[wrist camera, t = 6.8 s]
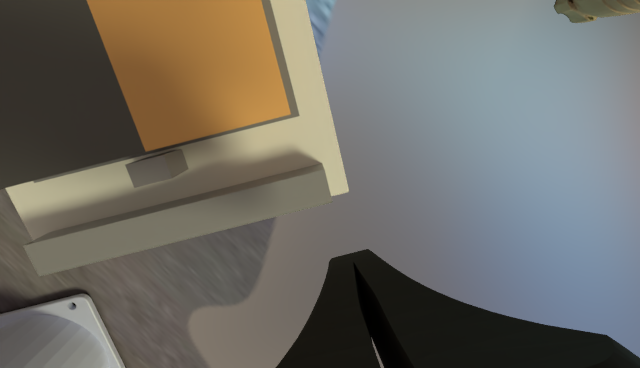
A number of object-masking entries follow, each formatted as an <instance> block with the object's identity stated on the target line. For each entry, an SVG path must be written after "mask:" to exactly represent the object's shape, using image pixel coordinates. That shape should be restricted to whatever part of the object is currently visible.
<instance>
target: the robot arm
mask: <svg viewBox="0 0 640 368" xmlns="http://www.w3.org/2000/svg"><path fill="white" fill-rule="evenodd" d="M72 302H73V303H75V304H76V306H75V305H73V304H72ZM371 337H372V339H373V342H374V344H375V346H376V349H377V351H378V354H379V356H380V358H381V361H382V363H383V366H384V368H640V358H639V357H638V356H636V355H635V354H633V353H632V352H630V351H629V350H628V349H626V348H625V347H623V346H622V345H620V344H619V343H618V342H616V341H615V340H613V339H612V338H610V337H609V336H607V335H603V334H596V333H590V332H585V331H579V330H573V329H567V328H560V327H555V326H548V325H544V324H539V323H534V322H530V321H526V320H522V319H517V318H513V317H509V316H505V315H502V314H498V313H494V312H490V311H488V310H484V309H481V308H478V307H475V306H472V305H469V304H466V303H463V302H460V301H458V300H455V299H453V298H450V297H448V296H445V295H443V294H441V293H438V292H436V291H434V290H432V289H430V288H428V287H426V286H424V285H422V284H420V283H418V282H416V281H414V280H413V279H411V278H409V277H407V276H406V275H404V274H403V273H401V272H400V271H398V270H397V269H395V268H393V267H392V266H391V265H389V264H388V263H386V262H385V261H384V260H382V259H381V258H380V257H378V256H377V255H376V254H374V253H373V252H372V251H370V250H369V249H366V250H362V251H358V252H354V253H350V254H347V255H343V256H338V257H335V258H332V259H331V260H330V262H329V267H328V272H327V275H326V279H325V282H324V284H323V287H322V290H321V293H320V295H319V298H318V300H317V302H316V304H315V306H314V309H313V311H312V313H311V315H310V317H309V319H308V321H307V323H306V324H305V326H304V328H303V330H302V331H301V333H300V335H299V336H298V338H297V340H296V341H295V342H294V344H293V345H292V347H291V348H290V349H289V351H288V352H287V354H286V355H285V356H284V358H283V359H282V360H281V362H280V363H279V364H278V366H277V367H276V368H381V367H380V364H379V362H378V359H377V356H376V353H375V350H374V347H373V344H372V339H371ZM0 368H125V366H124V364H123V362H122V360H121V358H120V356H119V354H118V352H117V350H116V347H115V345H114V343H113V341H112V339H111V337H110V335H109V333H108V331H107V329H106V327H105V325H104V323H103V321H102V319H101V317H100V315H99V313H98V311H97V309H96V307H95V305H94V303H93V301H92V299H91V298H90V296H88V295H87V294H78V295H74V296H70V297H66V298H62V299H58V300H54V301H50V302H46V303H42V304H38V305H35V306H31V307H27V308H23V309H19V310H15V311H11V312H7V313H3V314H0Z"/></svg>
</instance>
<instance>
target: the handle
mask: <svg viewBox="0 0 640 368" xmlns="http://www.w3.org/2000/svg"><path fill="white" fill-rule="evenodd" d="M554 8H555V10H556V12H557V13H558V14H560V13H562V14H564V15H566V16H567V17H568V18H569V19H570V21H571V22H572V23H582V22H590V21H594V20H596V19H597V17H610V16H620V15H626V14H633V13H638V12H640V0H556V2H555V5H554Z"/></svg>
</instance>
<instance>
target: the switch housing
mask: <svg viewBox="0 0 640 368" xmlns="http://www.w3.org/2000/svg"><path fill="white" fill-rule="evenodd" d="M261 1H262V5H263V9H264V13H265V17H266V21H267V24H268V28H269V32H270V36H271V40H272V44H273V47H274V51H275V55H276V59H277V63H278V66H279V70H280V74H281V78H282V82H283V86H284V89H285V93H286V97H287V101H288V105H289V108H290V112H291V114H290V115H286V116H282V117H279V118H275V119H271V120H267V121H263V122H259V123H255V124H251V125H248V126H244V127H240V128H236V129H232V130H228V131H224V132H220V133H217V134H213V135H209V136H205V137H201V138H197V139H193V140H189V141H186V142H182V143H178V144H174V145H170V146H166V147H162V148H158V149H155V150H151V151H147V152H143V153H139V154H135V155H131V156H127V157H124V158H120V159H116V160H112V161H108V162H104V163H100V164H96V165H93V166H89V167H85V168H81V169H77V170H73V171H69V172H65V173H62V174H58V175H54V176H50V177H46V178H42V179H38V180H34V181H31V182H27V183H23V184H19V185H15V186H11V187H7V188H5V189H6V190H7V192H8V194H9V196H10V198H11V200H12V202H13V204H14V206H15V208H16V210H17V211H18V213H19V215H20V217H21V219H22V221H23V223H24V225H25V227H26V229H27V231H28V233H29V234H30V236H31V238H32V240H33V241H31V242H29V243H27V244H25V245H23V247H24V249H25V251H26V253H27V255H28V256H29V258H30V260H31V262H32V264H33V266H34V268H35V270H36V271H37V273H38V275H39V276H43V275H47V274H51V273H55V272H59V271H63V270H67V269H71V268H75V267H79V266H83V265H87V264H91V263H95V262H99V261H103V260H107V259H110V258H114V257H118V256H122V255H126V254H130V253H134V252H138V251H142V250H146V249H150V248H154V247H158V246H162V245H166V244H170V243H174V242H178V241H182V240H186V239H189V238H193V237H197V236H201V235H205V234H209V233H213V232H217V231H221V230H225V229H229V228H233V227H237V226H241V225H245V224H249V223H253V222H257V221H261V220H264V219H268V218H272V217H276V216H280V215H284V214H288V213H292V212H296V211H300V210H304V209H308V208H312V207H316V206H320V205H324V204H328V203H332V198H331V196H334V195H338V194H342V193H346V192H349V189H348V185H347V181H346V176H345V172H344V167H343V163H342V159H341V154H340V150H339V145H338V141H337V137H336V132H335V128H334V124H333V119H332V115H331V111H330V106H329V102H328V97H327V93H326V89H325V85H324V80H323V76H322V71H321V67H320V63H319V58H318V54H317V49H316V45H315V41H314V36H313V32H312V28H311V23H310V19H309V15H308V10H307V6H306V1H305V0H261Z"/></svg>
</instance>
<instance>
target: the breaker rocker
mask: <svg viewBox="0 0 640 368" xmlns="http://www.w3.org/2000/svg"><path fill="white" fill-rule="evenodd" d="M290 114H291V112H290V108H289V105H288V101H287V97H286V93H285V89H284V86H283V82H282V78H281V74H280V70H279V66H278V63H277V59H276V55H275V51H274V47H273V44H272V40H271V36H270V32H269V28H268V24H267V21H266V17H265V13H264V9H263V5H262V1H261V0H0V189H3V188H7V187H11V186H15V185H19V184H23V183H27V182H31V181H34V180H38V179H42V178H46V177H50V176H54V175H58V174H62V173H65V172H69V171H73V170H77V169H81V168H85V167H89V166H93V165H96V164H100V163H104V162H108V161H112V160H116V159H120V158H124V157H127V156H131V155H135V154H139V153H143V152H147V151H151V150H155V149H158V148H162V147H166V146H170V145H174V144H178V143H182V142H186V141H189V140H193V139H197V138H201V137H205V136H209V135H213V134H217V133H220V132H224V131H228V130H232V129H236V128H240V127H244V126H248V125H251V124H255V123H259V122H263V121H267V120H271V119H275V118H279V117H282V116H286V115H290Z"/></svg>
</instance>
